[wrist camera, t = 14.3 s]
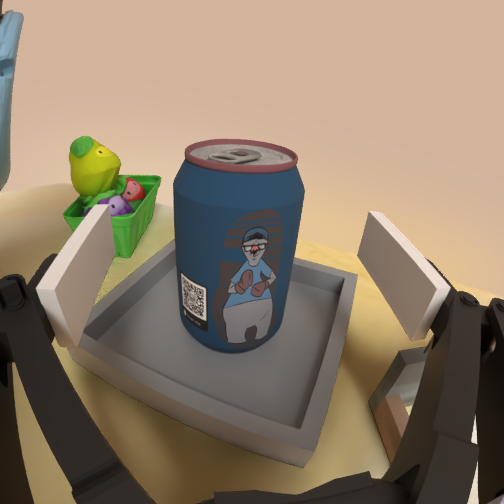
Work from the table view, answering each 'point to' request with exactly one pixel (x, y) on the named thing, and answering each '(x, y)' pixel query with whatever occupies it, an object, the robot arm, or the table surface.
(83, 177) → the fruit basket
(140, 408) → the table surface
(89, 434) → the robot arm
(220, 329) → the soda can
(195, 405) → the grey tray
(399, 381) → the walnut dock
